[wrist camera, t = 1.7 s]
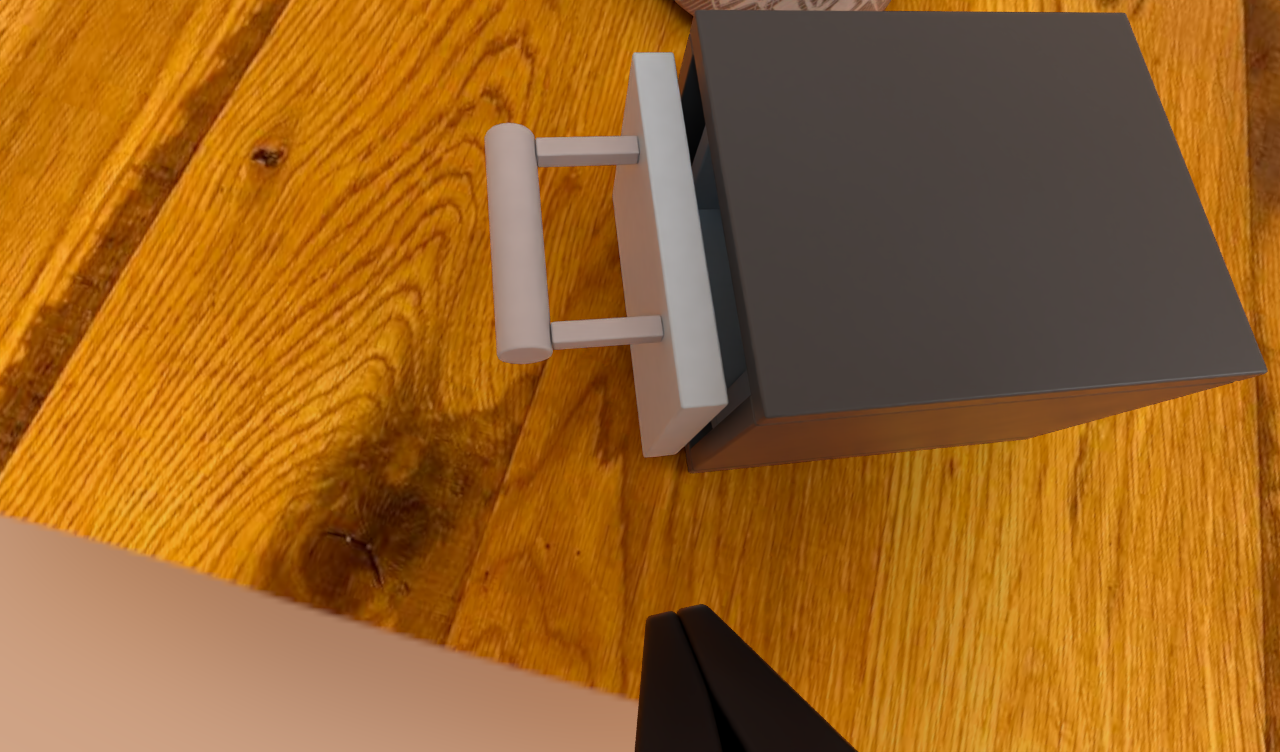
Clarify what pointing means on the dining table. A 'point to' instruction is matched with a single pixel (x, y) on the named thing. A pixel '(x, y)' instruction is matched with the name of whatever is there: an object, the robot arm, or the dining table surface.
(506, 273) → the drawer
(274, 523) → the dining table surface
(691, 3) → the planter
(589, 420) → the dining table surface
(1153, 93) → the dark grey cabinet
